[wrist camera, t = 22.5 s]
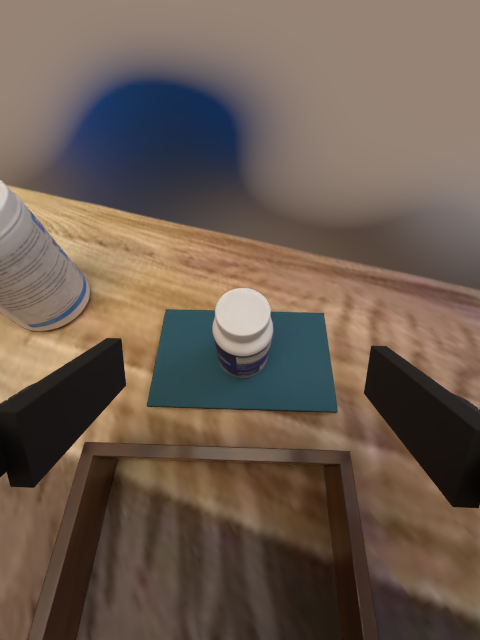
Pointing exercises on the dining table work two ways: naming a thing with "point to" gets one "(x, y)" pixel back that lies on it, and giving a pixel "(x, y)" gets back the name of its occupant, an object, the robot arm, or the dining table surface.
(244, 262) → the dining table surface
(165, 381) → the mat
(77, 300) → the supplement tub
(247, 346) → the pill bottle
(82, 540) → the wooden tray
